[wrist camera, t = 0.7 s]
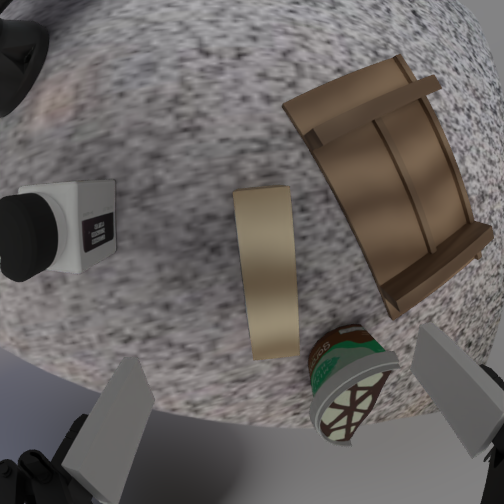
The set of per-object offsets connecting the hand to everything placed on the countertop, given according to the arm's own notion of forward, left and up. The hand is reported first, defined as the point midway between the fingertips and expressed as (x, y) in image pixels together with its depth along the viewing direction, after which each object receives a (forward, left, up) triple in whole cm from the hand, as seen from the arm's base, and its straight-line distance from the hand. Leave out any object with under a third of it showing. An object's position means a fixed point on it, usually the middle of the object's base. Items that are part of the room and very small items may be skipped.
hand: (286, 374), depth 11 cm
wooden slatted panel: (+1, +17, -17) cm, 24 cm away
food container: (+14, 0, -17) cm, 22 cm away
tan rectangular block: (0, 0, -17) cm, 17 cm away
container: (-14, -14, -17) cm, 26 cm away
